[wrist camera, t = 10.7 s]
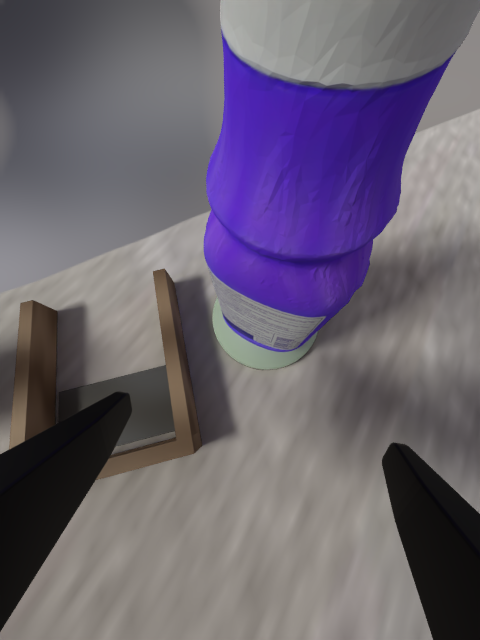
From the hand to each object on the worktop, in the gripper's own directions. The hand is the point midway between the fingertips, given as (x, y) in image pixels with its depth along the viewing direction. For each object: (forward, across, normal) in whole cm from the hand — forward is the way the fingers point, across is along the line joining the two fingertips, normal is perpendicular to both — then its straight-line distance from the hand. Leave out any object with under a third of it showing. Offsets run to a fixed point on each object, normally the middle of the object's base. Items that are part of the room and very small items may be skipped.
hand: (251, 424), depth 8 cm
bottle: (+12, 0, +2) cm, 12 cm away
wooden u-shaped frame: (+8, +12, +6) cm, 16 cm away
